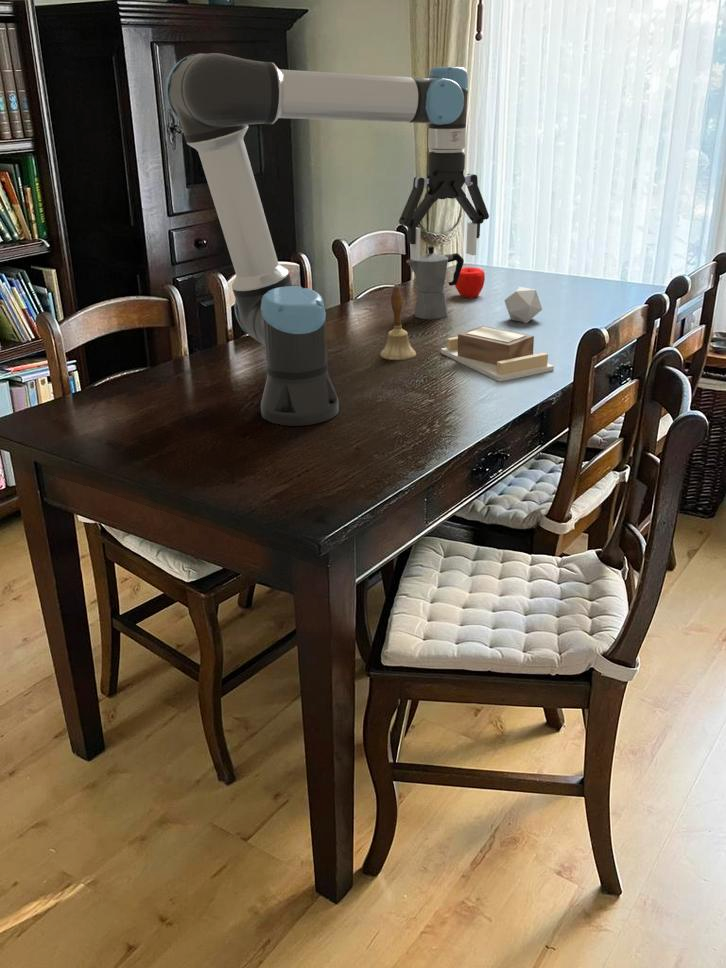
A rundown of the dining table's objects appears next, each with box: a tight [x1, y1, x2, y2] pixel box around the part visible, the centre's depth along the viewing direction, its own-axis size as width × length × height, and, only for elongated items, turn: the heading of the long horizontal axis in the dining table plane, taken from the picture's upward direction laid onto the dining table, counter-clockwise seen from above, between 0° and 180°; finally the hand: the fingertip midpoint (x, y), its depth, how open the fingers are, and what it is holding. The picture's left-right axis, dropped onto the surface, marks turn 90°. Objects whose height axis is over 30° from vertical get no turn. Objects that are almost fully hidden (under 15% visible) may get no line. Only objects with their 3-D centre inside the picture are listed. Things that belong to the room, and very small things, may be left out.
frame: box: [457, 325, 535, 365], centre depth 199 cm, size 9×14×5 cm, turn 46°
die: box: [504, 286, 543, 324], centre depth 229 cm, size 8×9×10 cm
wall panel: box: [440, 335, 555, 382], centre depth 200 cm, size 14×24×4 cm, turn 26°
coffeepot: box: [406, 245, 465, 320], centre depth 235 cm, size 15×9×18 cm, turn 103°
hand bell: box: [379, 285, 417, 361], centre depth 204 cm, size 8×8×16 cm
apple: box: [452, 266, 486, 299], centre depth 253 cm, size 9×9×8 cm
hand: (443, 257), depth 191 cm, fingers open, 13 cm apart
